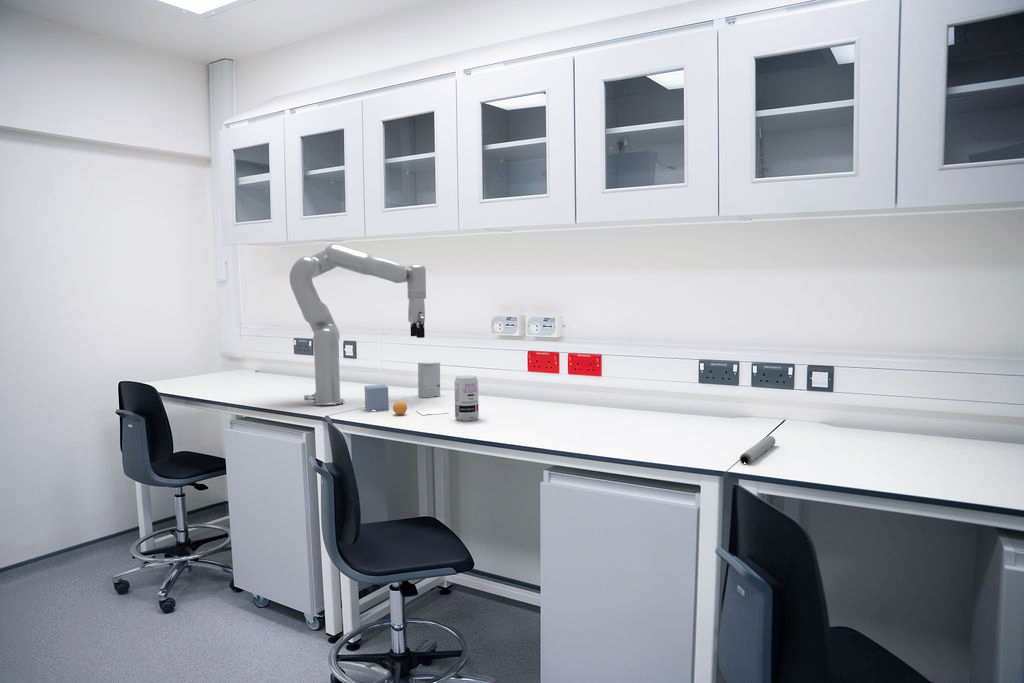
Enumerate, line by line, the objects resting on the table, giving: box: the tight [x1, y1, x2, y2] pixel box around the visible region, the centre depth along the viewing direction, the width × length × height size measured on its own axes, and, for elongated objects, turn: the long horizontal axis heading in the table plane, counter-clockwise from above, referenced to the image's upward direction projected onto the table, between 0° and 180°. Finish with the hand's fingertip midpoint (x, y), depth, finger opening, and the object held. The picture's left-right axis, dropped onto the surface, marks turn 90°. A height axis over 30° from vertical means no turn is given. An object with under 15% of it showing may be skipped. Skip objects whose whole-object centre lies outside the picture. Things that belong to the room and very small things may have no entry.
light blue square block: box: [364, 384, 390, 412], centre depth 254 cm, size 8×8×9 cm
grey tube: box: [739, 435, 776, 465], centre depth 180 cm, size 3×3×25 cm
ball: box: [392, 400, 408, 416], centre depth 242 cm, size 5×5×5 cm
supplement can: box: [454, 375, 479, 422], centre depth 232 cm, size 8×8×15 cm
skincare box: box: [417, 361, 441, 399], centre depth 283 cm, size 8×6×15 cm
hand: (417, 336), depth 273 cm, fingers open, 9 cm apart
